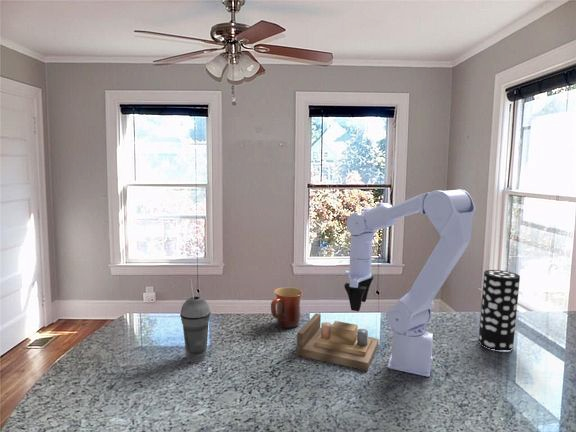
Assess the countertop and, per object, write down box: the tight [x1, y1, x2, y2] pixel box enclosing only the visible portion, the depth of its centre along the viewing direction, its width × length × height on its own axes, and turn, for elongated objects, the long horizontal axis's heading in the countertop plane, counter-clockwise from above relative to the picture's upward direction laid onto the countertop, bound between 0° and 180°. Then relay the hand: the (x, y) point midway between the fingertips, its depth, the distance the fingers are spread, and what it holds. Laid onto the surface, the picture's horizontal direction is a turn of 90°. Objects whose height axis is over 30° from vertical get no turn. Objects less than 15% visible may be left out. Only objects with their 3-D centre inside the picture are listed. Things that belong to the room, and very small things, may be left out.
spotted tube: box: [477, 269, 521, 350], centre depth 103 cm, size 8×8×20 cm
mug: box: [270, 286, 304, 329], centre depth 114 cm, size 12×9×10 cm
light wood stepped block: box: [296, 313, 380, 372], centre depth 99 cm, size 18×14×6 cm
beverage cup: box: [179, 278, 212, 364], centre depth 93 cm, size 7×7×20 cm
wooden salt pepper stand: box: [315, 320, 372, 356], centre depth 99 cm, size 13×8×5 cm, turn 67°
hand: (358, 305), depth 104 cm, fingers open, 7 cm apart
